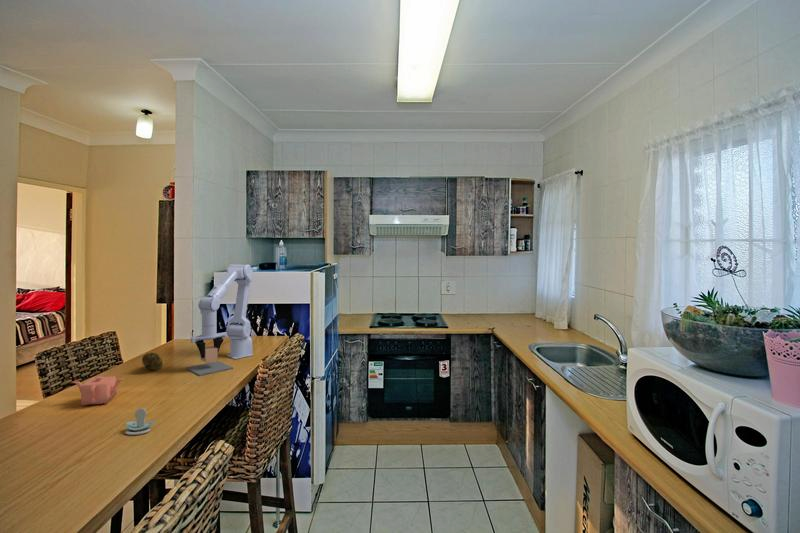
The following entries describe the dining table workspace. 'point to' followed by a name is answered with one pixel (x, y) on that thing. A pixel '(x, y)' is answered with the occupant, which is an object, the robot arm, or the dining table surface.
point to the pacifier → (138, 423)
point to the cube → (210, 354)
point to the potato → (152, 361)
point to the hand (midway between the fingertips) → (209, 356)
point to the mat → (209, 368)
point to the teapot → (98, 390)
